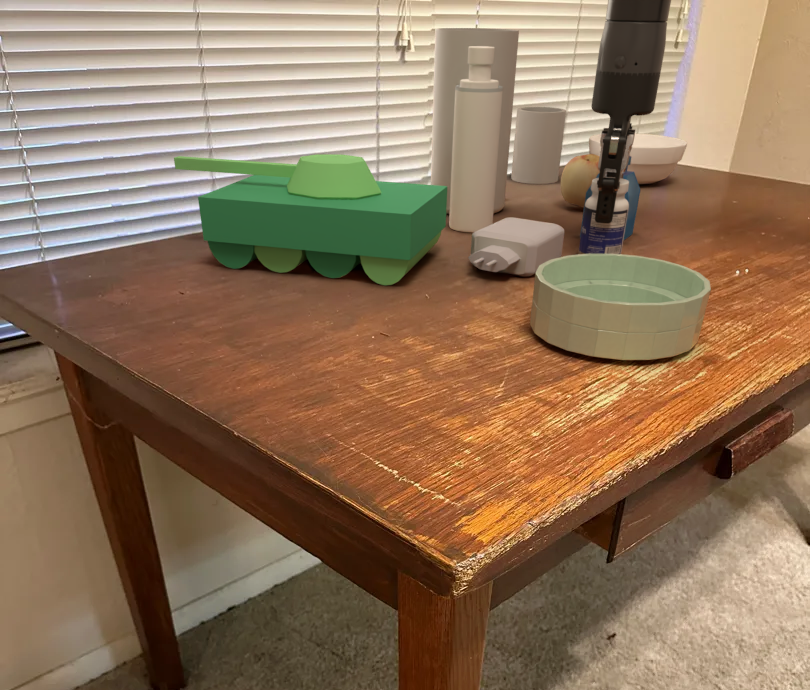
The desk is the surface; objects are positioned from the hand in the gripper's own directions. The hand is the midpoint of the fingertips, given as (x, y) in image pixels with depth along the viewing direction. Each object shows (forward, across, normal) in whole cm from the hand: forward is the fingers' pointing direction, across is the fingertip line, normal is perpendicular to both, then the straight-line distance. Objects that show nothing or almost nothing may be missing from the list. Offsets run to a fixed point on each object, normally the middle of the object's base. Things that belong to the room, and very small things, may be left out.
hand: (605, 216), depth 100 cm
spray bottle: (+6, +12, +20) cm, 24 cm away
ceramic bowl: (+6, -28, -4) cm, 29 cm away
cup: (+6, +53, +17) cm, 56 cm away
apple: (+6, +31, +5) cm, 32 cm away
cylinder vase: (+6, +24, +24) cm, 34 cm away
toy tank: (+6, -12, +38) cm, 41 cm away
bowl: (+6, +58, -1) cm, 58 cm away
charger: (+6, -9, +11) cm, 16 cm away
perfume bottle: (+6, +14, 0) cm, 15 cm away
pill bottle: (+6, 0, 0) cm, 6 cm away
